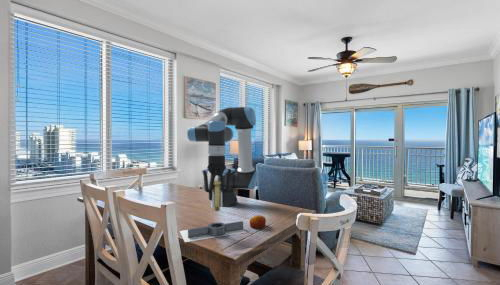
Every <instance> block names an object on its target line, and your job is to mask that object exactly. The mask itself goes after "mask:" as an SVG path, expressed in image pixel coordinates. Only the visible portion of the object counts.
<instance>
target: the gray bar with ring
mask: <svg viewBox="0 0 500 285" xmlns="http://www.w3.org/2000/svg"><path fill="white" fill-rule="evenodd" d="M187 230H188V238H192V237H198V236H205V235H209V236H215V238H218V237H217V236H221V237H223V236H222V235H224V234H225V233H226V232H230V231H236V230H244V222H243V221H236V222H234V221H233V222H228V223H224V222H211V223H208V224H207V226H200V227H194V228H187Z"/></svg>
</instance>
